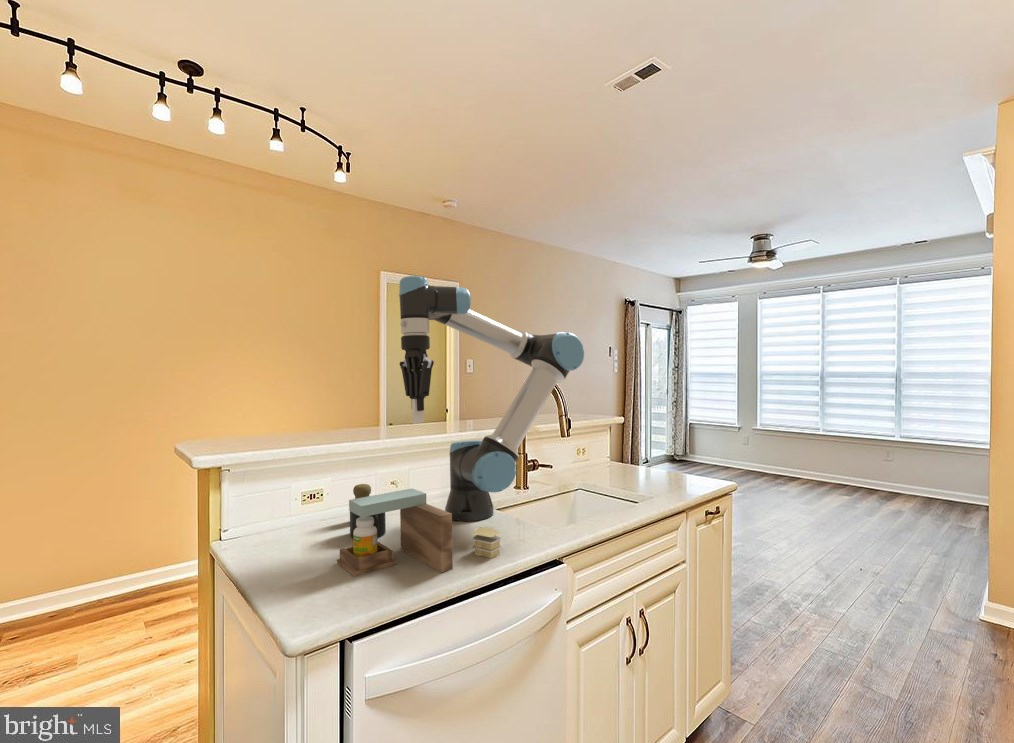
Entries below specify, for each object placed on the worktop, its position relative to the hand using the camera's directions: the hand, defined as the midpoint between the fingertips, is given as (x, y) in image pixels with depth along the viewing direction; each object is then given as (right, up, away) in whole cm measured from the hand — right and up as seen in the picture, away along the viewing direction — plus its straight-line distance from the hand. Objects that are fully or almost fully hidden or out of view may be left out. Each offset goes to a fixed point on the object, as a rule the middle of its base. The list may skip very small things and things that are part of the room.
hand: (418, 422), depth 131 cm
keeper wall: (+4, -31, -14) cm, 34 cm away
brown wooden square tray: (-9, -31, -17) cm, 37 cm away
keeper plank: (-4, -19, -15) cm, 24 cm away
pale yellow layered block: (+19, -31, -11) cm, 38 cm away
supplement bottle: (-9, -31, -17) cm, 36 cm away
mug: (-14, -31, +3) cm, 34 cm away
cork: (-20, -31, +16) cm, 40 cm away
